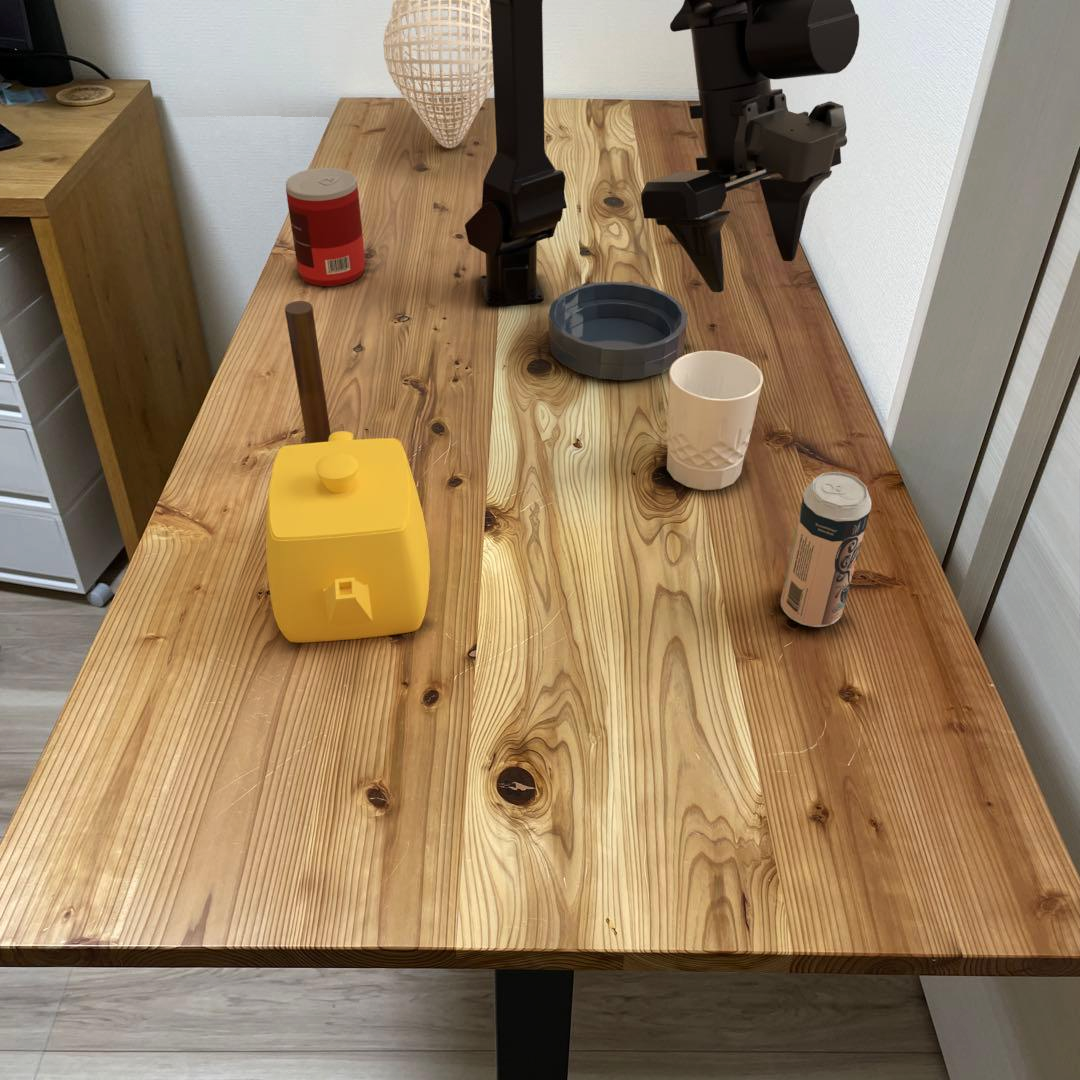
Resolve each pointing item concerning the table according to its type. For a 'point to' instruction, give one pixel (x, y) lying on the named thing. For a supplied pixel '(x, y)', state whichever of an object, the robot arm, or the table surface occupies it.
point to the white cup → (710, 417)
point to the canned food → (326, 226)
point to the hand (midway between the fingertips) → (754, 275)
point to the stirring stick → (308, 371)
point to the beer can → (825, 548)
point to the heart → (440, 63)
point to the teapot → (345, 541)
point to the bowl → (617, 330)
